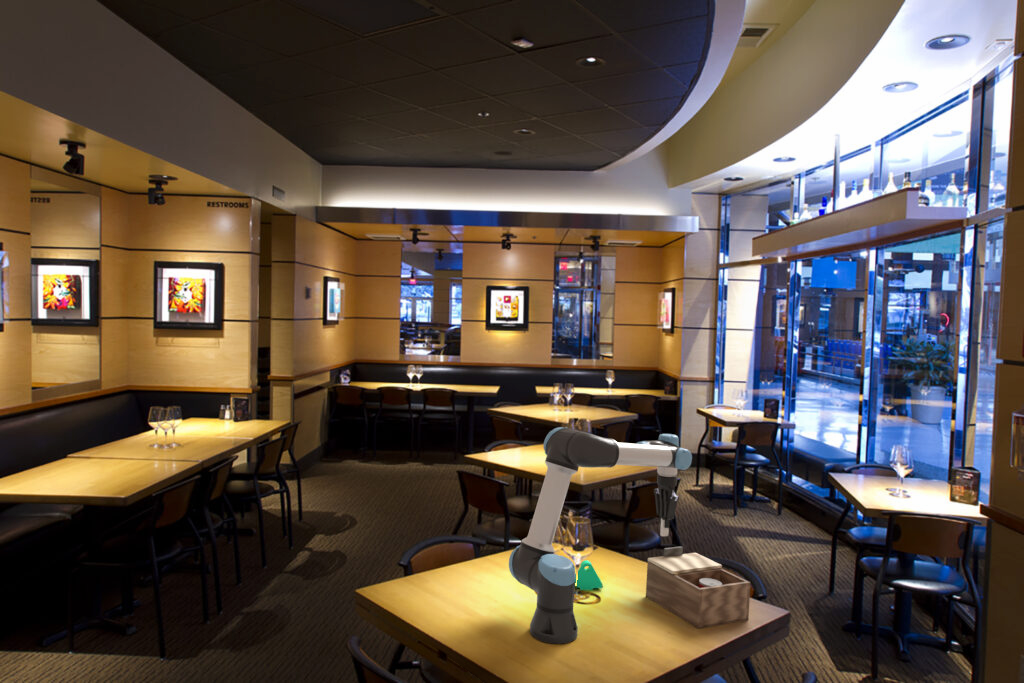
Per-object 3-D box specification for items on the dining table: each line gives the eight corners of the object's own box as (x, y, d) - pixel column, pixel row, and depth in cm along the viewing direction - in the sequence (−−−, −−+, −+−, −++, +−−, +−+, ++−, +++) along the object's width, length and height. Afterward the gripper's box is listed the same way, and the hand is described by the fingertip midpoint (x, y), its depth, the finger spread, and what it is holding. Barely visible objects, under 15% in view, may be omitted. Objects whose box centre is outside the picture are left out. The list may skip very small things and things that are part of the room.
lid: (672, 574, 231) (673, 562, 231) (647, 560, 244) (648, 549, 244) (721, 567, 241) (722, 556, 241) (695, 555, 254) (695, 544, 254)
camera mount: (598, 583, 256) (600, 557, 255) (602, 591, 248) (603, 563, 248) (567, 582, 255) (569, 555, 255) (570, 589, 248) (571, 562, 247)
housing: (697, 628, 219) (699, 589, 219) (645, 596, 244) (647, 561, 244) (748, 619, 228) (750, 582, 228) (693, 589, 254) (695, 555, 254)
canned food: (714, 620, 224) (716, 588, 224) (693, 612, 230) (694, 581, 230) (724, 614, 230) (726, 582, 230) (703, 606, 235) (705, 576, 235)
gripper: (686, 477, 250) (683, 539, 250) (664, 470, 261) (661, 529, 262) (670, 478, 246) (667, 541, 247) (648, 471, 258) (646, 531, 258)
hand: (664, 535), depth 254 cm, fingers closed
